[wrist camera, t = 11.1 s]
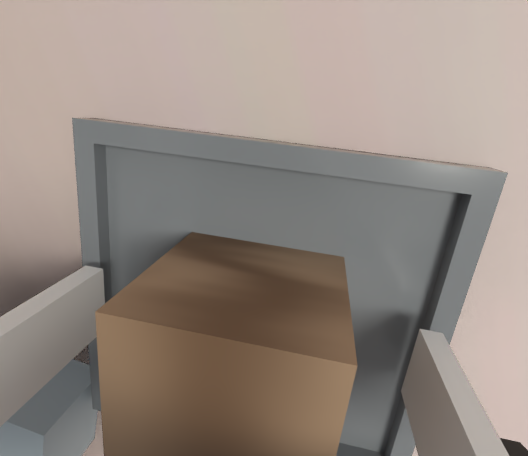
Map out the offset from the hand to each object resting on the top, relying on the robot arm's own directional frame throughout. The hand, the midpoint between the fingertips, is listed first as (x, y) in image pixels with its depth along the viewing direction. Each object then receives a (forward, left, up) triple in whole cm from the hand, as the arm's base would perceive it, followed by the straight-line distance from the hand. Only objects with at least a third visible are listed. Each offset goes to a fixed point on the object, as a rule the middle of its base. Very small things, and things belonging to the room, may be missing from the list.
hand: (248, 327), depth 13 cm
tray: (0, 0, -2) cm, 2 cm away
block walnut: (0, 0, -1) cm, 1 cm away
